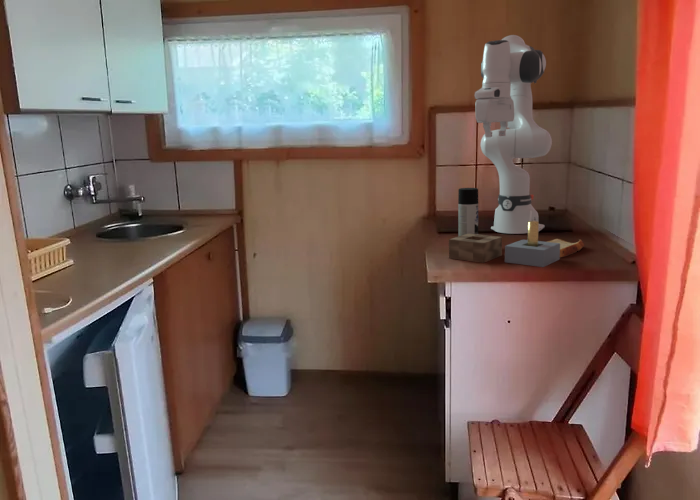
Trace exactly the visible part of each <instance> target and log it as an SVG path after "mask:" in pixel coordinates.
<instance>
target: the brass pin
mask: <svg viewBox="0 0 700 500" xmlns="http://www.w3.org/2000/svg"><path fill="white" fill-rule="evenodd" d="M538 224H540V223H539V220H538V221H528V233H527V240H528V244H527V246H533V247H538V241H539V232H538Z"/></svg>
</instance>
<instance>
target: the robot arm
mask: <svg viewBox="0 0 700 500" xmlns="http://www.w3.org/2000/svg"><path fill="white" fill-rule="evenodd" d="M480 65H481V66H480V76H481V78H482V79H483V80H482V82H481V85H482V86H481V88H479V89H477V90H476V91H474V99H475V109H474V110H475V120H476V123H478V124H482V127H483V130H484V134H483V135H482V136H481V139H480V150H481V153H482V154H483V155H484V156H485V157H486V158H487V159H489V160H490V161H491V163H492V164H493V165H494V167H495V168H496V171H497V174H498V182H499V183H498V184H499V194H498V195H497V197H498V198H497V203H498V206H497V207H496V208H495V211H494V217H493V218H494V221H493V226H491V227H490V229H491V230H493V231H494V232H497V233H501V234H510V235H511V234H512V235H514V234H518V235H519V234H528V221H538V222H539V213H538V211H537V210H536V209H535V208H534V206H533V205H532V202H533V201H532V200H534V194H530V190H531V189H530V187H531V186H530V185H531V184H530V181H531V177H530V174H529V172H528V171H527V170H525V169H524V168H522V167H520V166H518V165H516V164H515V163H514V161H513V160H514V159H532V158H533V159H535V158H540V157H544V156H546V155H547V154H548V153H549V152H550V151H551V148H552V144H553V140H552V136H551V133H550V132H549V131H548V130H547V129H544V128H543V127H541V126H539V125H538V123H536V121H535V120H534V118H533V117H534V115H533V93H532V87H531V85H532V84H533V83H534V84H537V81H538V80H539V79H541V77H542V76H543V75H544V74H545V69H546V66H547V60H546V57H545V55H544V53H543V51H542V50H540V49H535V48H534V47H532V46H530V45H528V44H526V43H525V41H524V39H523V38H522V37H521V36H519V35H516V34H510V35H507V36H504V37H503V38H502V39H499V40H491V41H490V40H489V41H487V42H486V43H485V44H484V48H483V54H482V61H481V64H480ZM492 123H499V125H500V128H499V129H494V130H493V129H492V128H491V127H492ZM543 229H545V224H542V223H538V233H539V232H540V231H542V230H543Z"/></svg>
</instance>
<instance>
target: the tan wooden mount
mask: <svg viewBox="0 0 700 500" xmlns="http://www.w3.org/2000/svg"><path fill="white" fill-rule="evenodd" d="M502 246H503V237H502V236H496V235H487V234H486V235H485V234H479V233H478V234H465V235H462V236H459V235H458V236H454V237H453V238H450V239H448V259H453V260H461V261H469V262H476V263H487V262H489V261H491V260H494V259H497V258H499V257H502V255H503V254H502V253H503V250H502V249H503V247H502Z"/></svg>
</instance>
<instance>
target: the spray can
mask: <svg viewBox="0 0 700 500" xmlns="http://www.w3.org/2000/svg"><path fill="white" fill-rule="evenodd" d="M457 196H458V200H457V201H458V202H457V205H458V213H457V214H458V216H457V217H458V219H457V220H458V221H457V222H458V226H457V227H458V229H457V230H458V237H459V236H462V235H465V234H478V235H479V188H477V187H460V188H458V195H457Z"/></svg>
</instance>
